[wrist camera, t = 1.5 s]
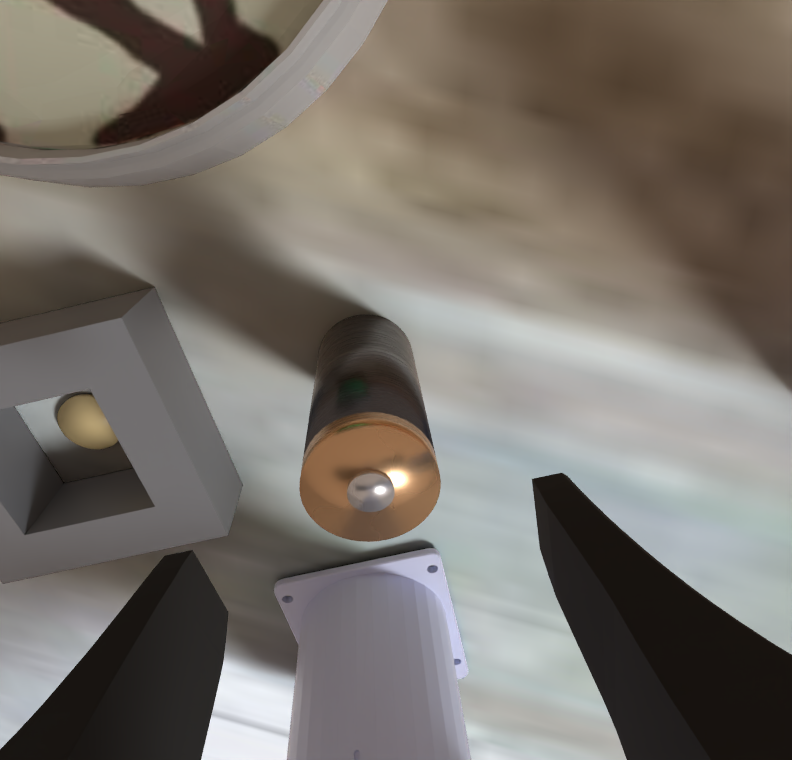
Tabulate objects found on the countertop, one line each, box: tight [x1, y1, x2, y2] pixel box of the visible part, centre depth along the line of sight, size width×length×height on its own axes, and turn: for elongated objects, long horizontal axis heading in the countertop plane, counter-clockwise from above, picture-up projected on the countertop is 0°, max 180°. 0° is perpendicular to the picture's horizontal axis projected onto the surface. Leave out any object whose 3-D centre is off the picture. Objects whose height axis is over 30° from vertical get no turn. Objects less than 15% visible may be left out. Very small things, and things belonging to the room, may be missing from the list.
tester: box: [0, 287, 243, 584], centre depth 20 cm, size 9×9×3 cm
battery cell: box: [300, 315, 441, 542], centre depth 17 cm, size 4×4×8 cm
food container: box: [0, 0, 388, 187], centre depth 11 cm, size 12×6×10 cm, turn 78°
